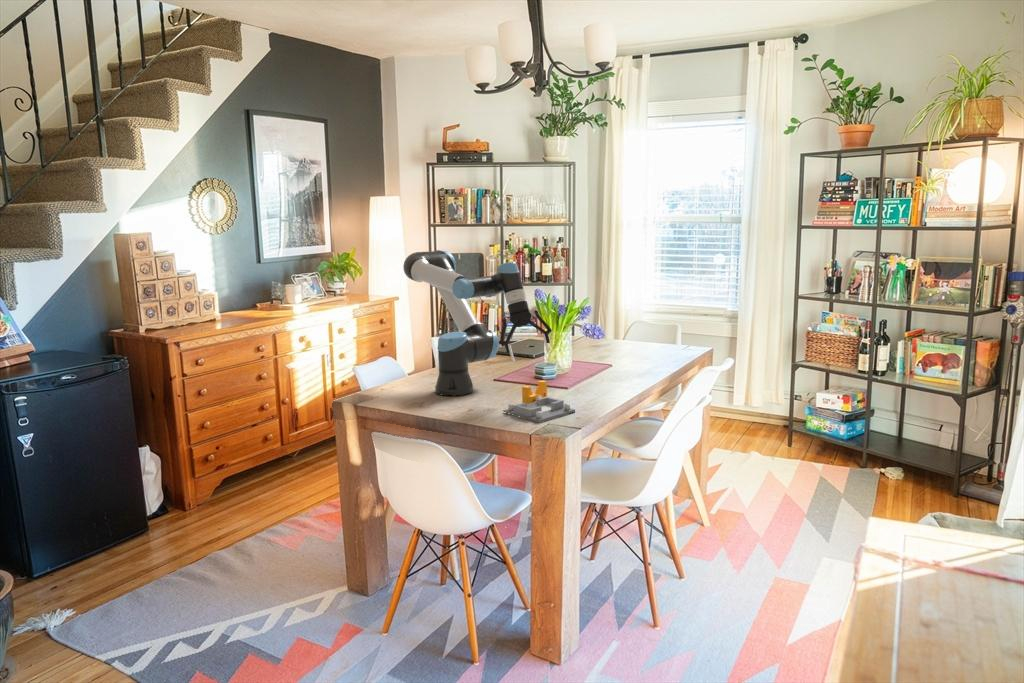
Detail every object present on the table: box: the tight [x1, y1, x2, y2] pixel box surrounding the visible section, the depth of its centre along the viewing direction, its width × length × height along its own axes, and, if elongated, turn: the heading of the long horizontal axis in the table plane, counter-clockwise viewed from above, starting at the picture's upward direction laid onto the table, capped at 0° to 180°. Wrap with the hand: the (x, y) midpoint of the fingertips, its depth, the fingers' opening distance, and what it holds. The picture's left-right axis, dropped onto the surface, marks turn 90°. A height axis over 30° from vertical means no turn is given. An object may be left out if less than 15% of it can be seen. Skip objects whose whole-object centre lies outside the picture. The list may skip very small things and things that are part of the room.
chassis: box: [502, 396, 576, 424], centre depth 257 cm, size 18×18×4 cm
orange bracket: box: [521, 379, 548, 404], centre depth 273 cm, size 12×4×6 cm, turn 142°
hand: (530, 357), depth 273 cm, fingers open, 13 cm apart
